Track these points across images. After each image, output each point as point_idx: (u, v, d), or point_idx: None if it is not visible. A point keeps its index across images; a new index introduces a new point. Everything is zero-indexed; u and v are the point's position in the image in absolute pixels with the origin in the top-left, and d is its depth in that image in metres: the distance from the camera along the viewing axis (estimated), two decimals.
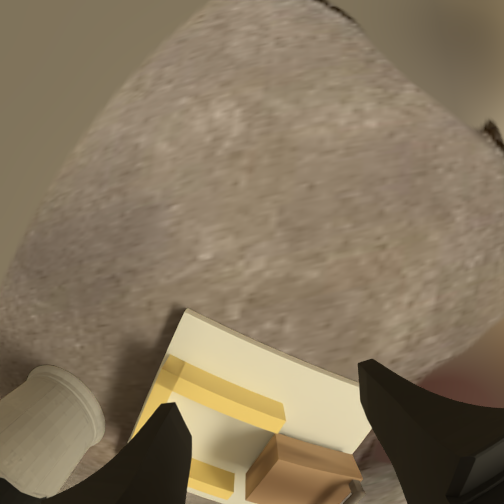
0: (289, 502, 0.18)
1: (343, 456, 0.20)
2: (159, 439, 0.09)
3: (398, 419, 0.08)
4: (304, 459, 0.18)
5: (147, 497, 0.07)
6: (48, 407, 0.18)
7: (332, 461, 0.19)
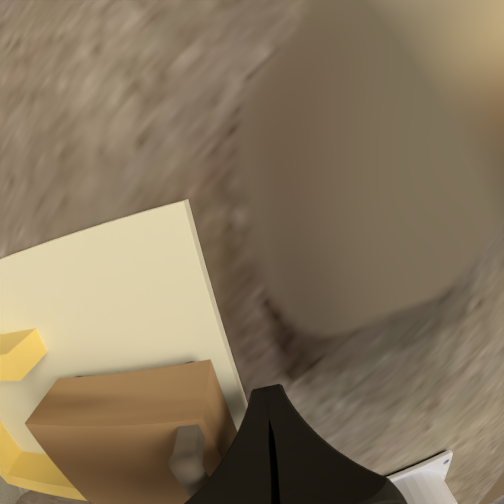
0: (139, 495, 0.09)
1: (179, 373, 0.10)
2: (270, 424, 0.09)
3: None
4: (71, 412, 0.09)
5: (276, 487, 0.07)
6: None
7: (138, 396, 0.09)
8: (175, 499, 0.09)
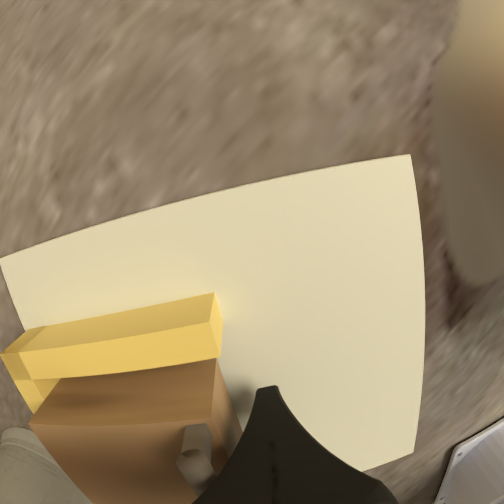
0: (144, 495, 0.09)
1: (184, 372, 0.10)
2: None
3: None
4: (76, 411, 0.09)
5: None
6: None
7: (144, 395, 0.09)
8: (180, 498, 0.09)
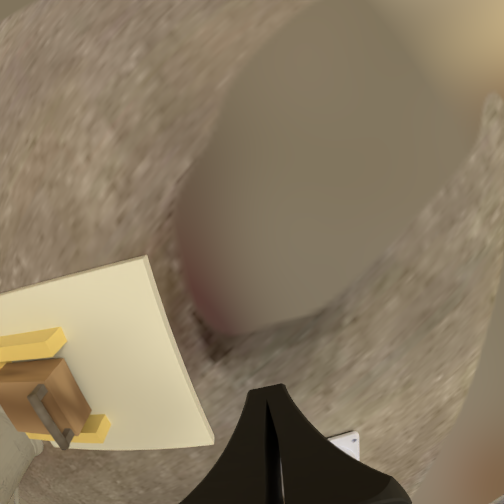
0: (35, 424, 0.17)
1: (49, 363, 0.19)
2: (266, 425, 0.09)
3: None
4: (6, 377, 0.17)
5: (272, 488, 0.07)
6: None
7: (31, 371, 0.18)
8: None
